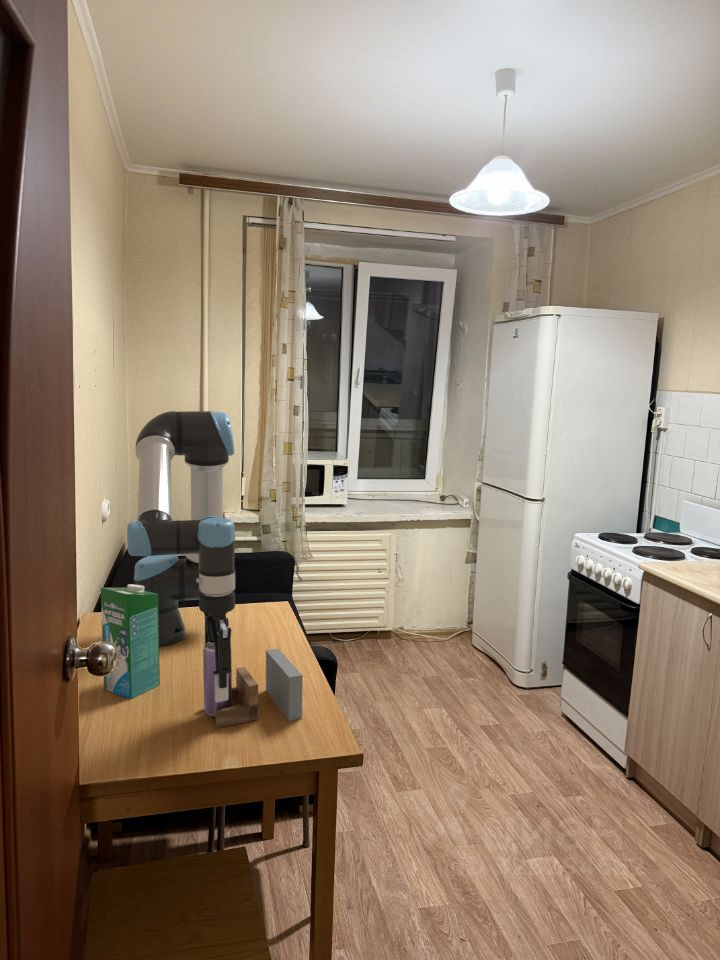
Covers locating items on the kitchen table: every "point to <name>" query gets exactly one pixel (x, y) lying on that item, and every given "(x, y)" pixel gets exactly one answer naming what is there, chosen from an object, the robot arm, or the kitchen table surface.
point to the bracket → (240, 701)
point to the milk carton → (131, 639)
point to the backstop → (284, 684)
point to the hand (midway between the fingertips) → (217, 693)
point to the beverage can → (213, 682)
